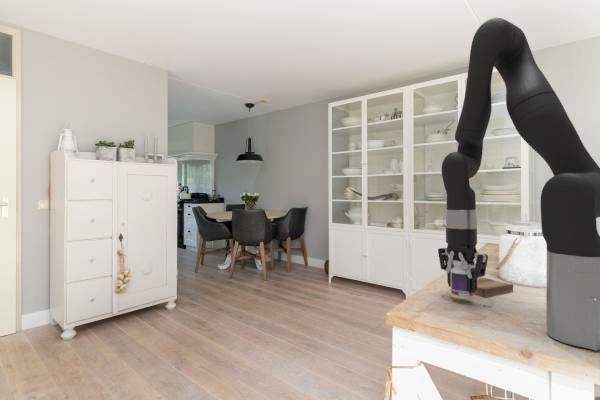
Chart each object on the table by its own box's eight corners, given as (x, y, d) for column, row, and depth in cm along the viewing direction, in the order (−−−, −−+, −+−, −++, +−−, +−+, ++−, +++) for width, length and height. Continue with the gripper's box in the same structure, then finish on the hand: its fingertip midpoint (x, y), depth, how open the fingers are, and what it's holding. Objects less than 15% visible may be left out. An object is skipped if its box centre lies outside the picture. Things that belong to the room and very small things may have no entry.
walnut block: (513, 294, 92) (513, 284, 92) (485, 300, 88) (485, 289, 88) (475, 284, 104) (475, 275, 104) (449, 288, 99) (449, 279, 99)
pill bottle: (476, 300, 82) (475, 262, 82) (454, 299, 83) (453, 262, 83) (469, 294, 87) (468, 259, 87) (448, 293, 88) (448, 258, 88)
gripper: (496, 227, 80) (496, 294, 80) (449, 224, 93) (449, 281, 93) (475, 229, 77) (476, 298, 77) (430, 225, 90) (430, 284, 90)
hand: (461, 289), depth 85 cm, fingers closed on pill bottle, 5 cm apart
